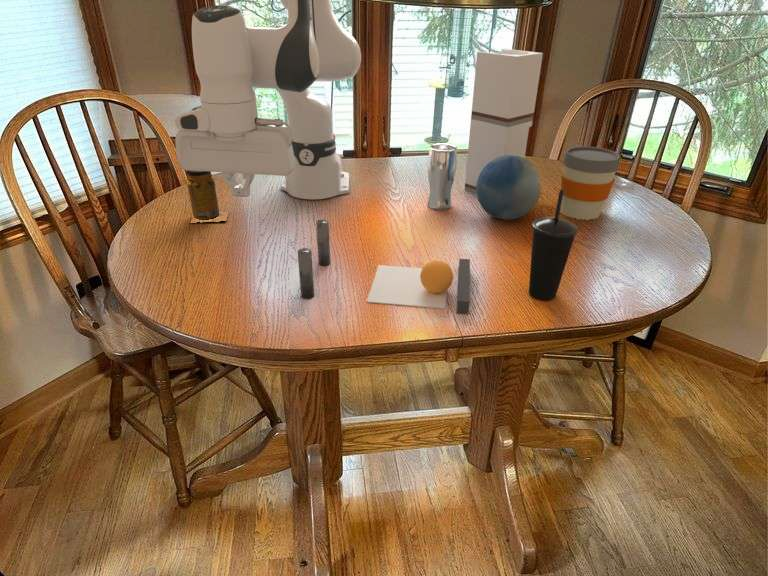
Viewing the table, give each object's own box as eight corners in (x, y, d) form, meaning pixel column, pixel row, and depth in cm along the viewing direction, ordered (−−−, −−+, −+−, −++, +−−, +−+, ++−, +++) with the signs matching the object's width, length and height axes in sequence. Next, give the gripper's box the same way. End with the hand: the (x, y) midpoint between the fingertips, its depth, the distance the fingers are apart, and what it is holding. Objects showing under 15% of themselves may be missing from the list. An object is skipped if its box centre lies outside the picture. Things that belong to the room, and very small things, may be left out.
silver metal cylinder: (443, 212, 131) (448, 152, 123) (420, 206, 134) (423, 147, 127) (458, 204, 136) (463, 146, 128) (435, 198, 139) (438, 141, 132)
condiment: (195, 212, 129) (186, 164, 123) (230, 211, 130) (223, 163, 124) (189, 224, 123) (179, 174, 117) (226, 223, 124) (218, 173, 118)
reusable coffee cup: (553, 219, 128) (564, 158, 121) (554, 201, 139) (565, 144, 131) (608, 225, 125) (623, 163, 117) (605, 207, 135) (619, 148, 128)
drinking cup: (556, 283, 101) (576, 182, 91) (569, 304, 94) (593, 198, 84) (516, 283, 101) (532, 182, 91) (527, 305, 94) (545, 198, 84)
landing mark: (378, 265, 106) (378, 265, 106) (448, 271, 105) (448, 270, 105) (366, 302, 94) (366, 301, 94) (445, 309, 93) (445, 308, 93)
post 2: (320, 260, 108) (317, 219, 104) (331, 260, 108) (329, 220, 103) (317, 265, 106) (314, 224, 102) (328, 266, 106) (326, 224, 101)
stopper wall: (458, 269, 105) (459, 258, 104) (468, 270, 105) (469, 259, 104) (456, 313, 92) (457, 300, 90) (468, 314, 91) (469, 301, 90)
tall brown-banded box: (521, 192, 144) (542, 53, 126) (497, 201, 138) (516, 56, 120) (488, 181, 151) (504, 48, 133) (464, 190, 145) (477, 51, 127)
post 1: (303, 291, 97) (299, 247, 93) (315, 292, 97) (313, 248, 92) (299, 298, 95) (295, 253, 91) (312, 299, 95) (309, 254, 90)
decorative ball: (481, 202, 137) (487, 144, 130) (539, 211, 132) (550, 152, 125) (466, 223, 125) (472, 161, 118) (530, 234, 120) (540, 170, 113)
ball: (418, 280, 101) (421, 253, 97) (450, 282, 101) (453, 255, 97) (419, 298, 96) (421, 270, 92) (452, 300, 96) (456, 272, 92)
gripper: (296, 115, 89) (302, 193, 96) (182, 110, 92) (196, 186, 99) (285, 124, 84) (292, 205, 91) (164, 118, 86) (180, 198, 93)
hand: (241, 195), depth 95 cm, fingers closed
